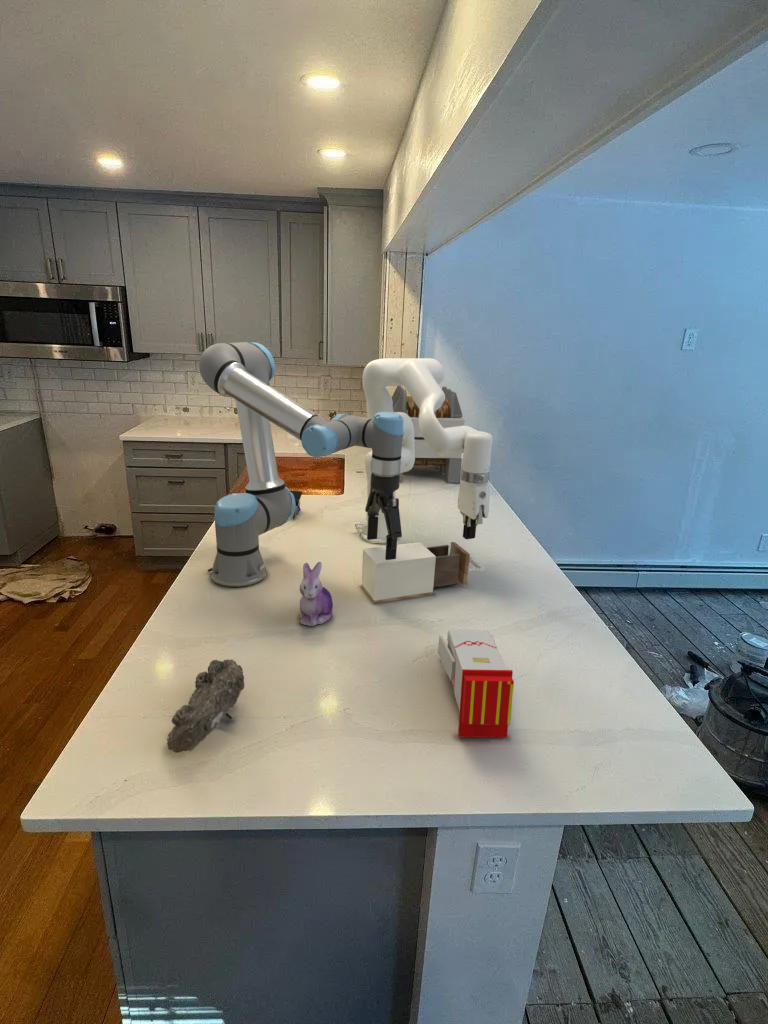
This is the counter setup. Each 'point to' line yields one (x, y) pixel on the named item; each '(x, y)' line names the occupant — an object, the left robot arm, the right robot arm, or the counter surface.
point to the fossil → (206, 705)
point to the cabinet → (398, 573)
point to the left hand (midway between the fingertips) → (380, 548)
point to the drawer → (452, 565)
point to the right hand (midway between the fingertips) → (468, 537)
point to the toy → (478, 682)
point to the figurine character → (296, 501)
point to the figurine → (314, 598)
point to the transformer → (447, 417)
